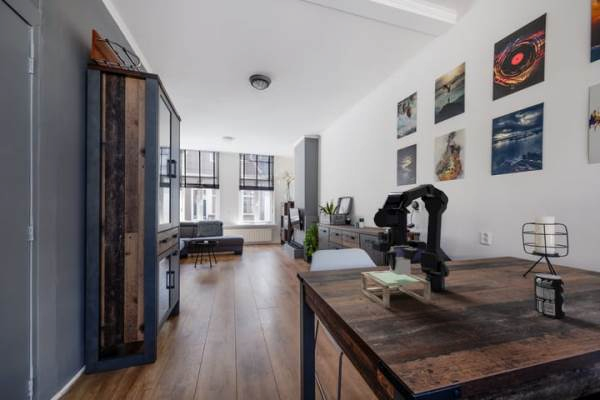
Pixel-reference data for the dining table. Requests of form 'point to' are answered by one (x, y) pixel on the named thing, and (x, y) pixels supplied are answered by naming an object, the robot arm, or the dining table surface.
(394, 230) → the robot arm
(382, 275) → the trapdoor
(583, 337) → the dining table surface
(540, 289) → the beverage can
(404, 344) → the dining table surface
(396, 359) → the dining table surface
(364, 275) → the trapdoor frame
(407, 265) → the plain light gray cube
